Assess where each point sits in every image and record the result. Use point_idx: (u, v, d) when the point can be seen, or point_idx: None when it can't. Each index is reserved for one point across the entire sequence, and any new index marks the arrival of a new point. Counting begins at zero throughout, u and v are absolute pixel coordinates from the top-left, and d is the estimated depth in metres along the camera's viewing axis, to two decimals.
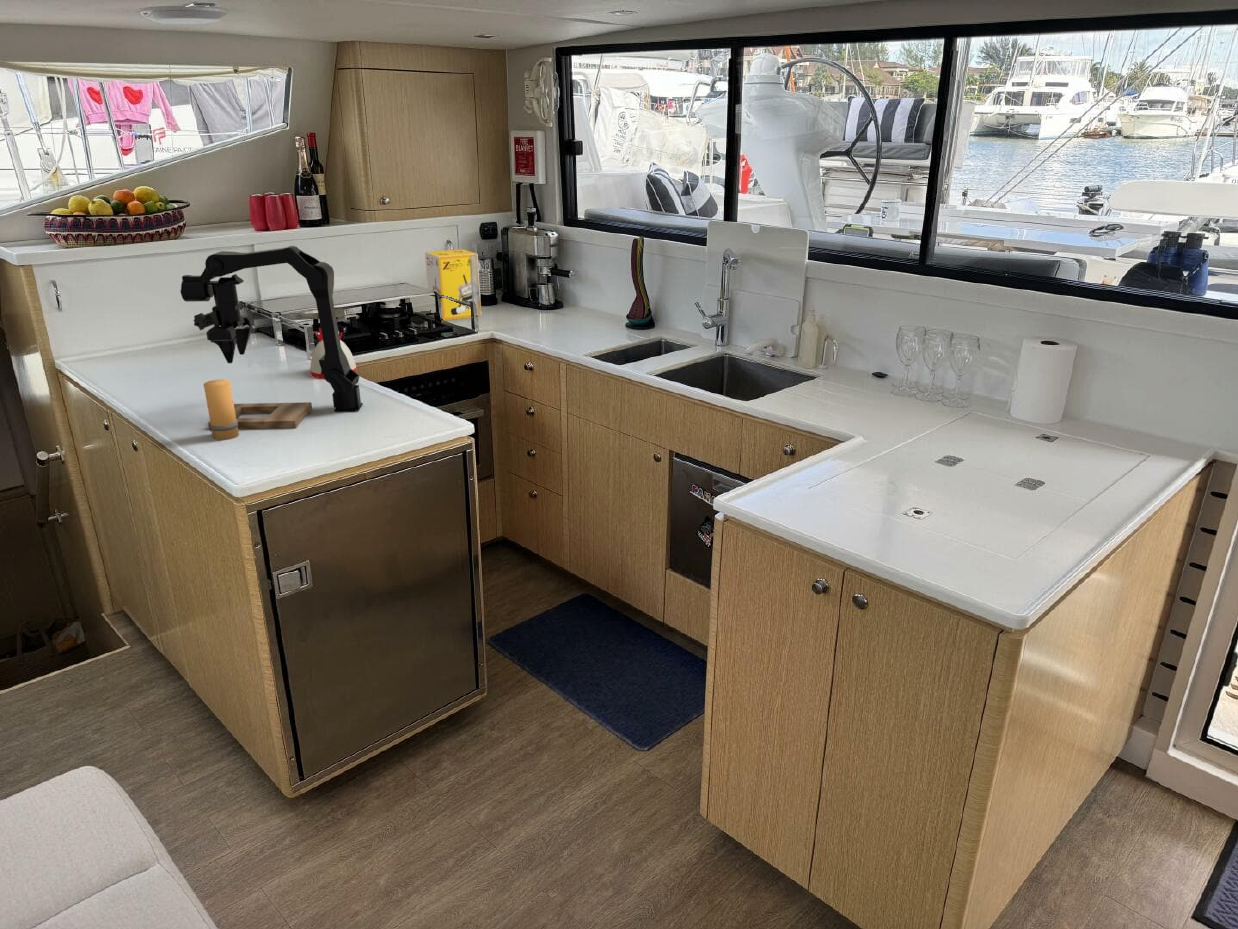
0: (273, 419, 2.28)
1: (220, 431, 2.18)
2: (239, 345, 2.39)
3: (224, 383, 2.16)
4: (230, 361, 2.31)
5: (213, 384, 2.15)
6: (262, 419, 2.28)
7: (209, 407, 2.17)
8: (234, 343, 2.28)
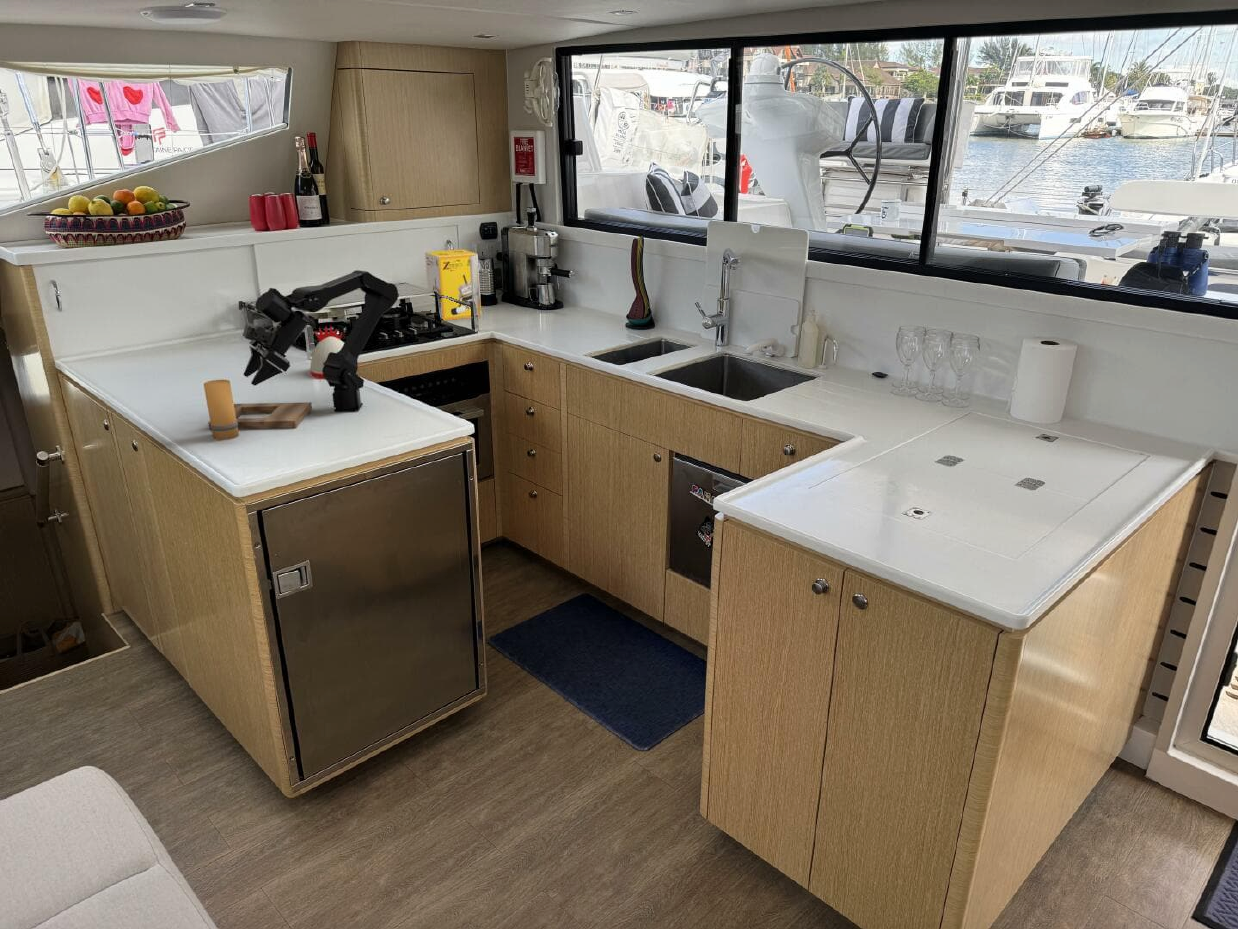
0: (273, 419, 2.28)
1: (220, 431, 2.18)
2: (250, 367, 2.24)
3: (224, 383, 2.16)
4: (255, 383, 2.17)
5: (213, 384, 2.15)
6: (262, 419, 2.28)
7: (209, 407, 2.17)
8: None
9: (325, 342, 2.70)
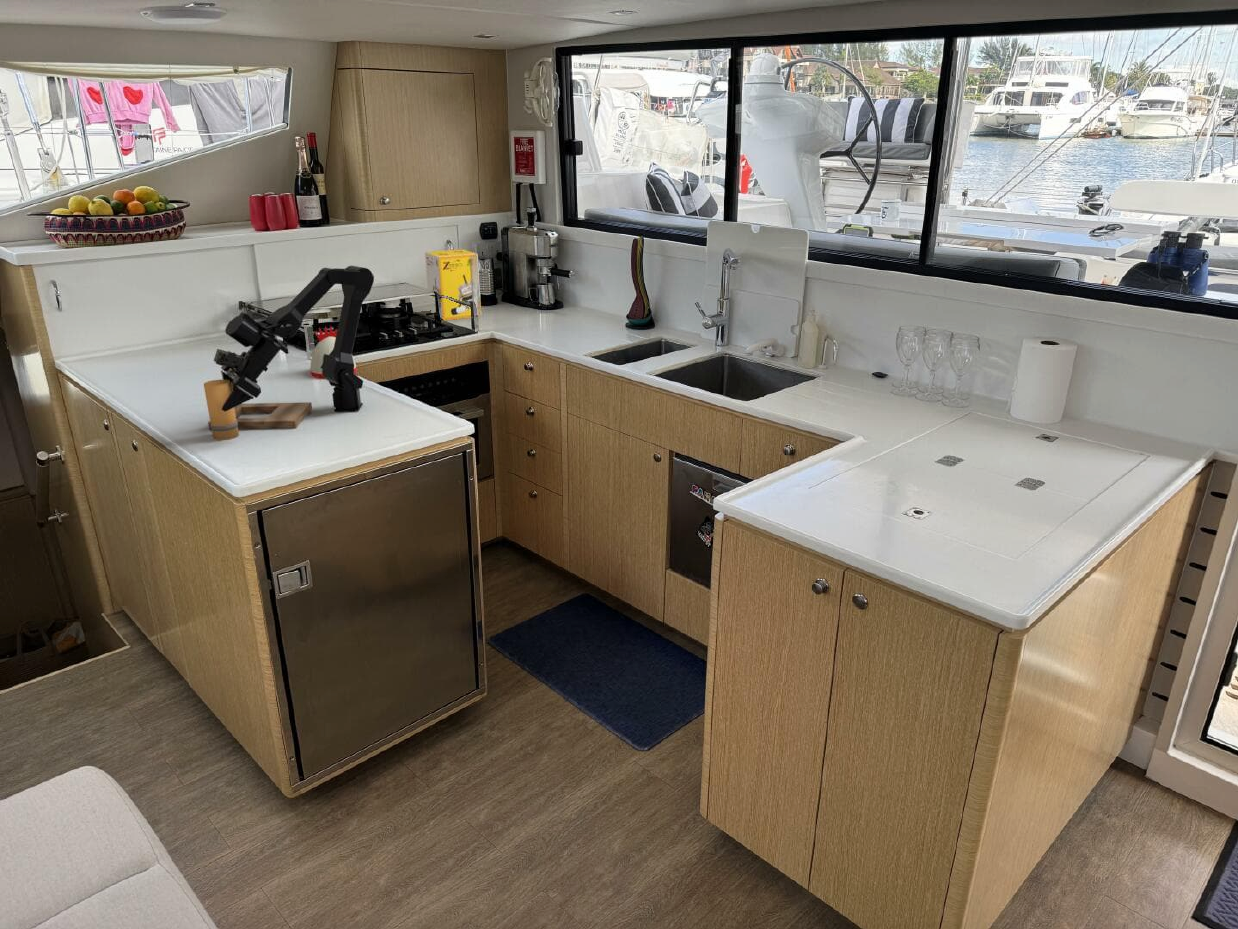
0: (273, 419, 2.28)
1: (220, 431, 2.18)
2: None
3: (224, 383, 2.16)
4: (225, 409, 2.15)
5: (213, 384, 2.15)
6: (262, 419, 2.28)
7: (209, 407, 2.17)
8: None
9: (325, 342, 2.70)
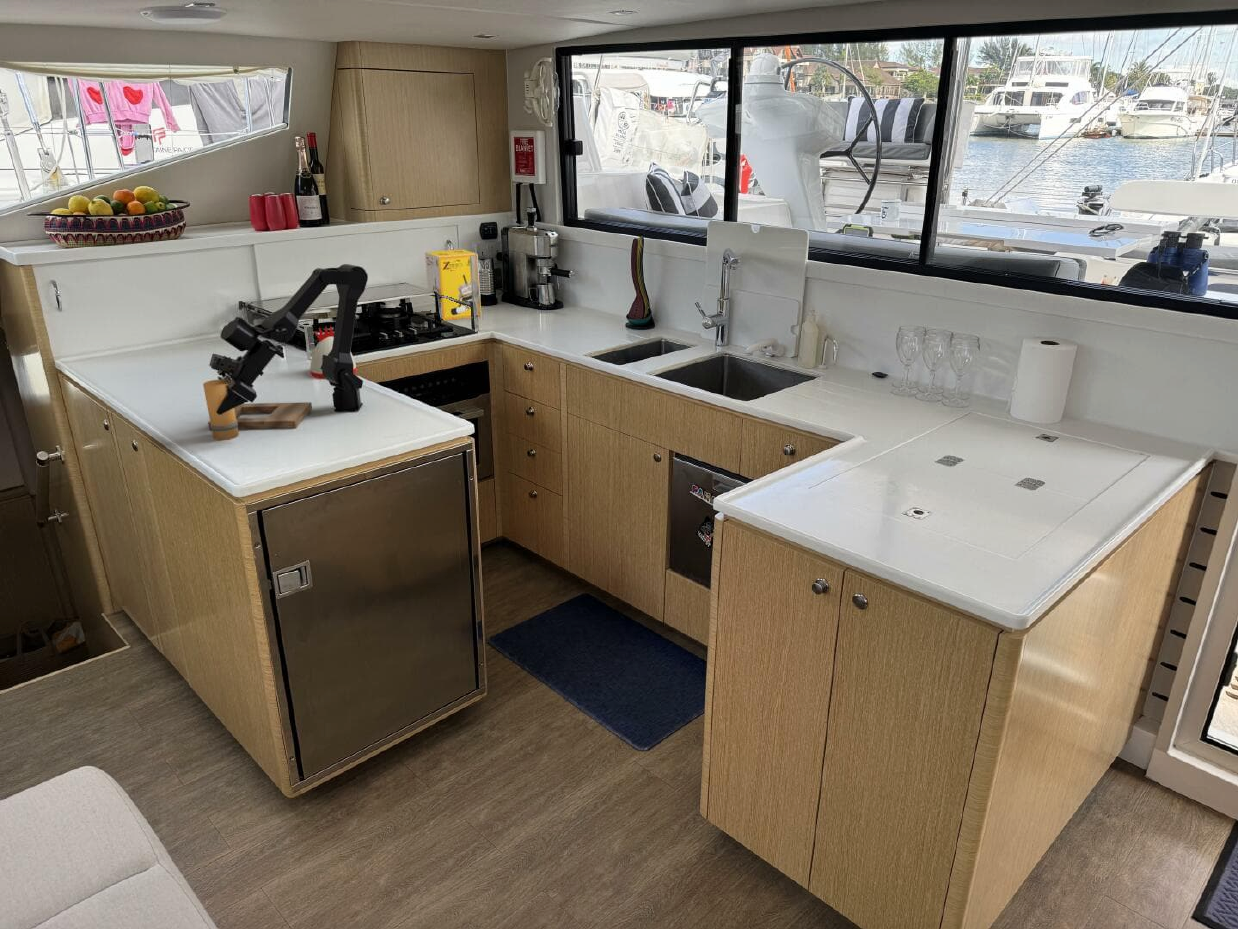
0: (273, 419, 2.28)
1: (220, 431, 2.18)
2: None
3: (224, 383, 2.16)
4: (220, 412, 2.16)
5: (213, 384, 2.15)
6: (262, 419, 2.28)
7: (209, 407, 2.16)
8: None
9: (325, 342, 2.70)
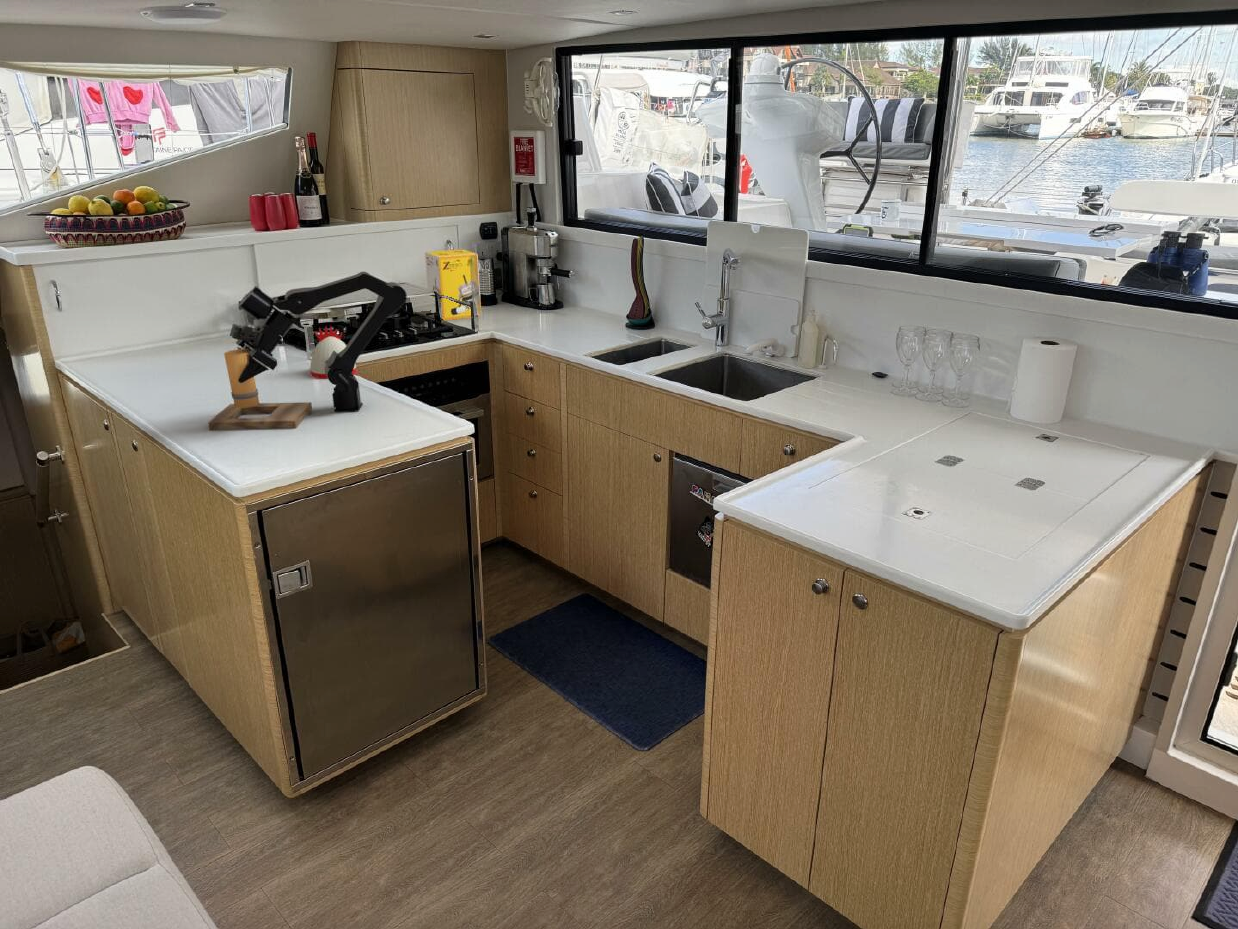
0: (273, 419, 2.28)
1: (241, 399, 2.26)
2: None
3: (244, 352, 2.23)
4: (242, 381, 2.23)
5: (233, 353, 2.23)
6: (262, 419, 2.28)
7: (230, 376, 2.24)
8: None
9: (325, 342, 2.70)
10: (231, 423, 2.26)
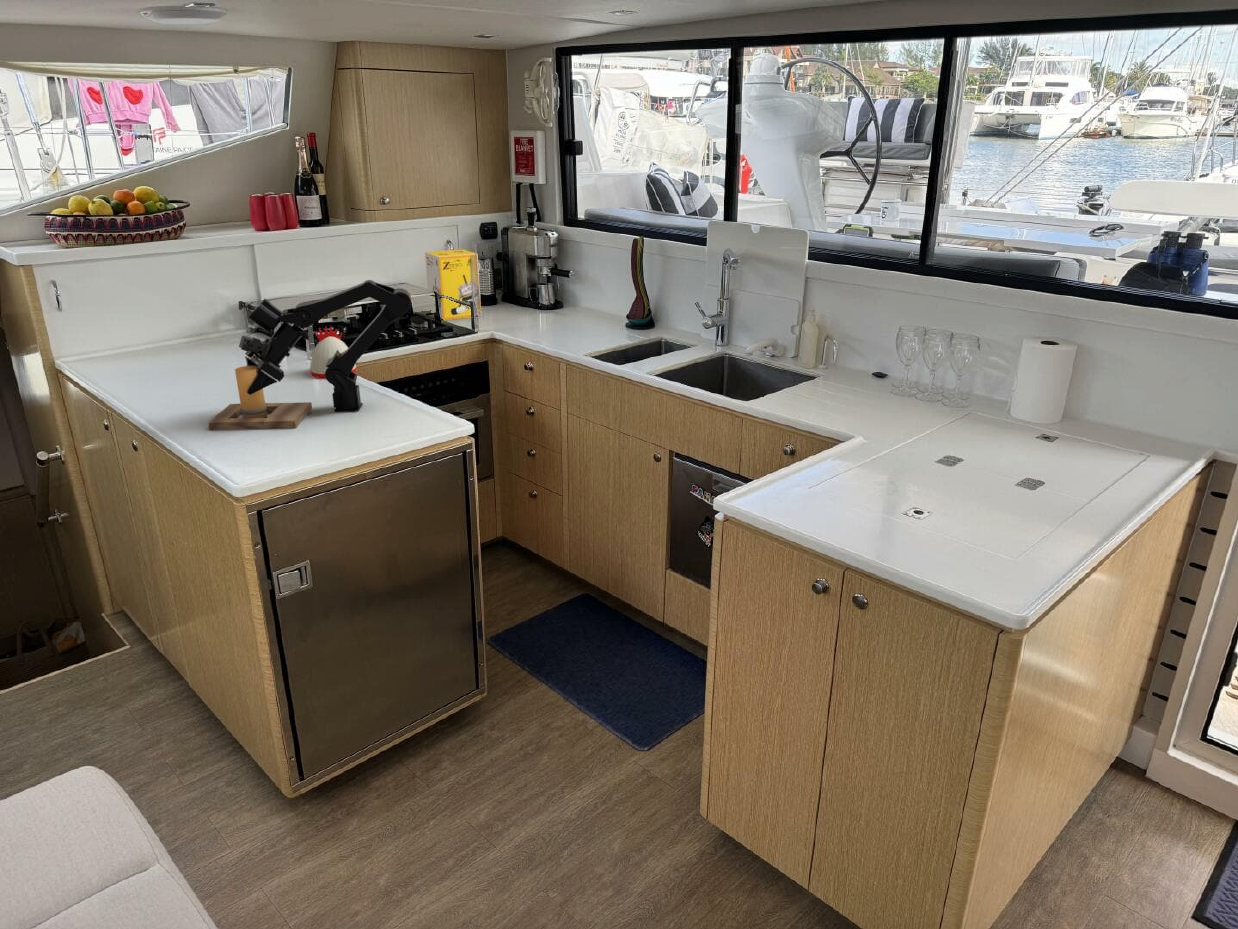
0: (273, 419, 2.28)
1: (250, 415, 2.30)
2: None
3: (254, 369, 2.28)
4: (250, 393, 2.27)
5: (244, 370, 2.28)
6: (262, 419, 2.28)
7: (240, 392, 2.29)
8: None
9: (325, 342, 2.70)
10: (231, 423, 2.26)
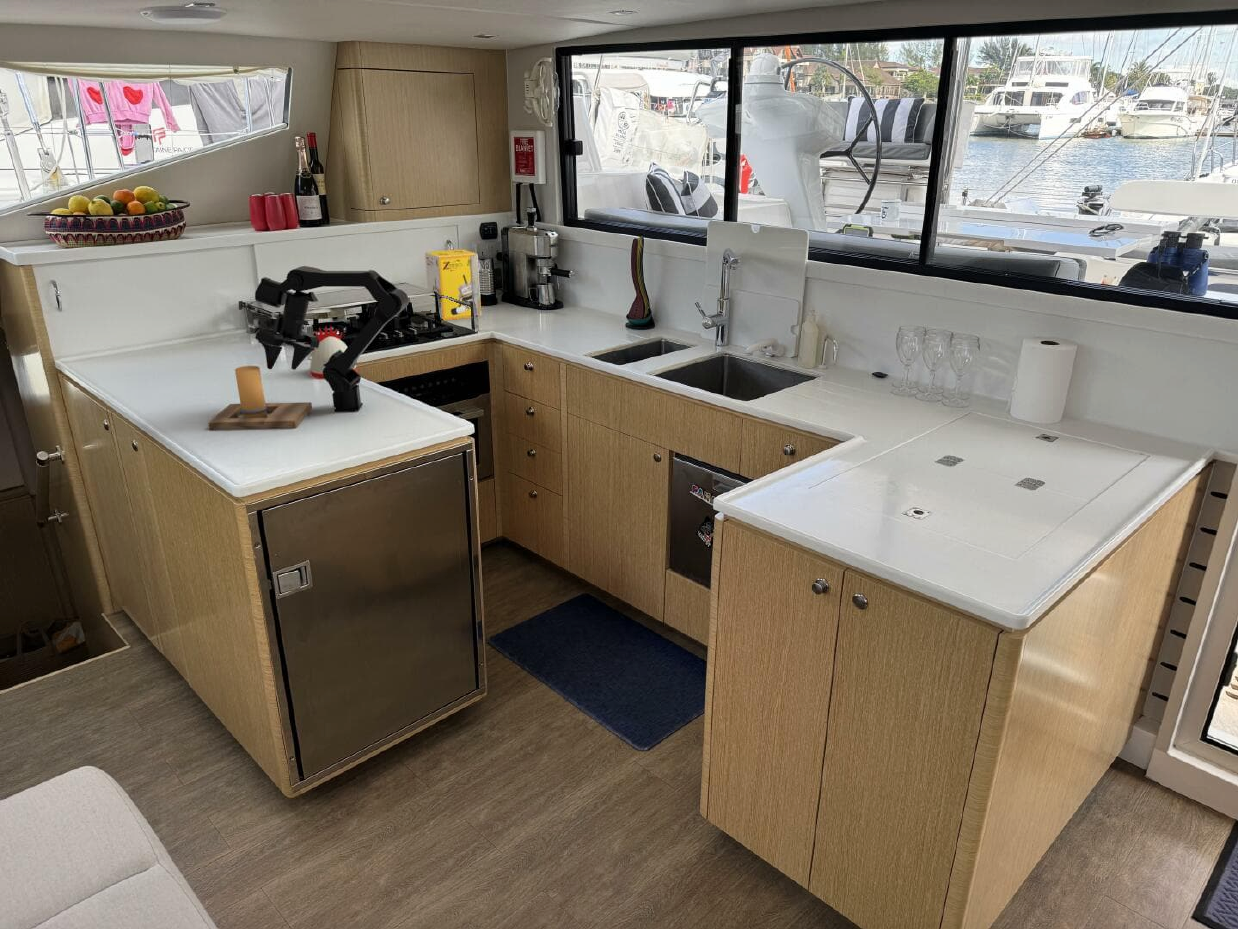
0: (273, 419, 2.28)
1: (250, 414, 2.30)
2: (294, 360, 2.40)
3: (254, 369, 2.28)
4: (269, 367, 2.32)
5: (244, 370, 2.28)
6: (262, 419, 2.28)
7: (240, 391, 2.29)
8: (277, 351, 2.29)
9: (325, 342, 2.70)
10: (231, 423, 2.26)
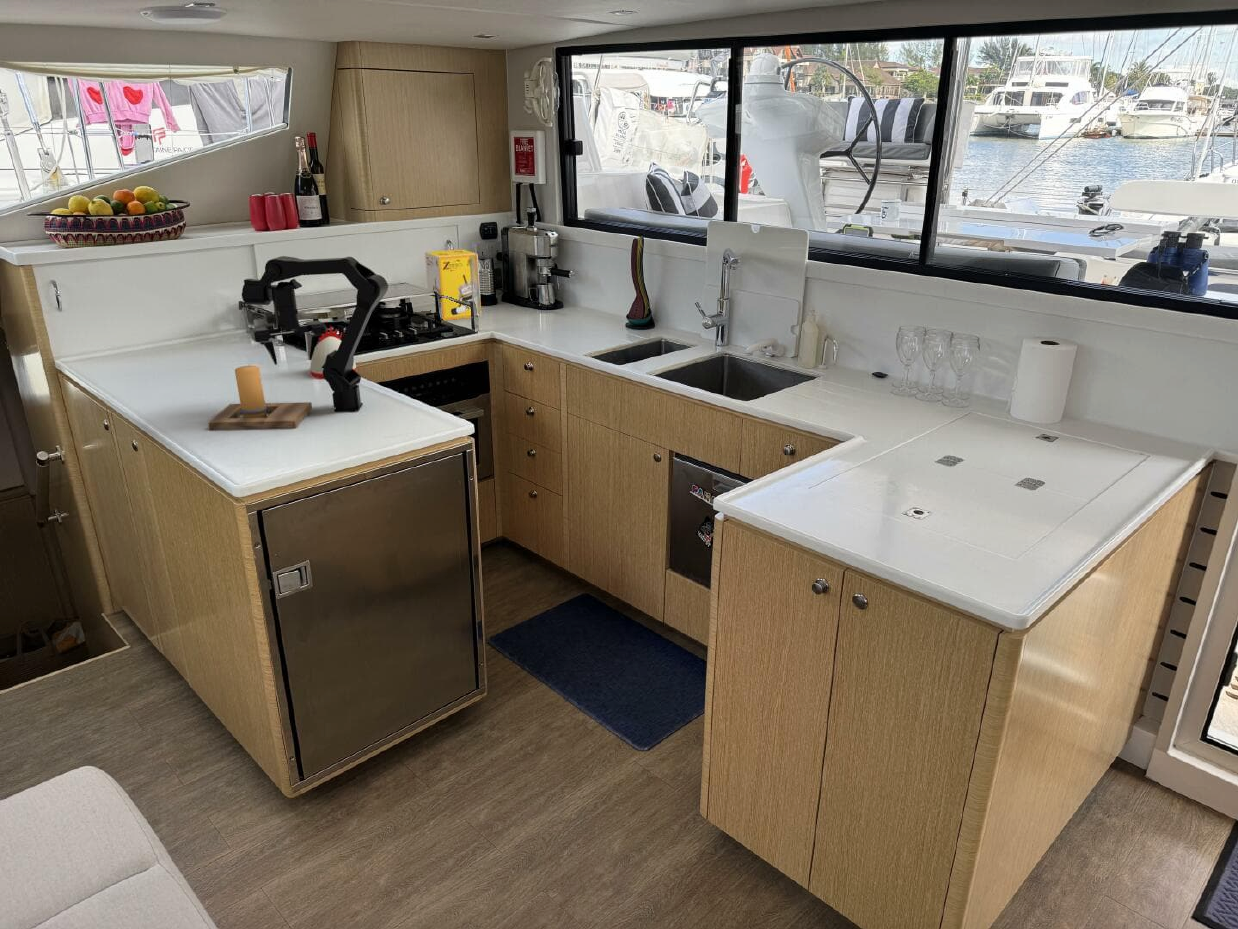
0: (273, 419, 2.28)
1: (250, 415, 2.30)
2: (308, 350, 2.41)
3: (254, 369, 2.28)
4: (274, 362, 2.36)
5: (244, 370, 2.28)
6: (262, 419, 2.28)
7: (240, 392, 2.29)
8: (269, 346, 2.32)
9: (325, 342, 2.70)
10: (231, 423, 2.26)
